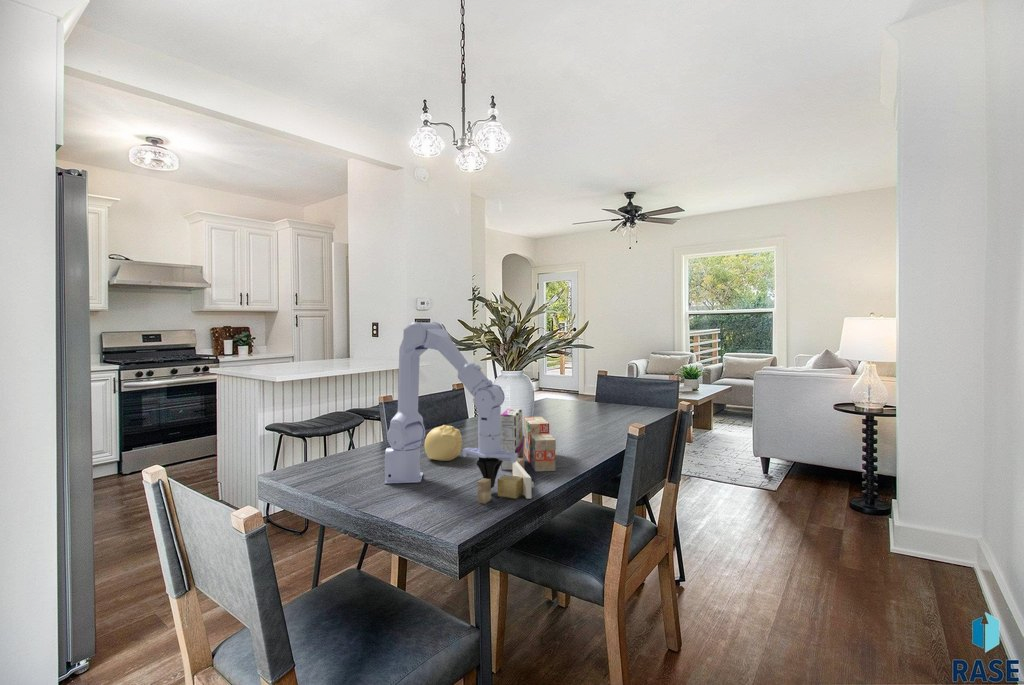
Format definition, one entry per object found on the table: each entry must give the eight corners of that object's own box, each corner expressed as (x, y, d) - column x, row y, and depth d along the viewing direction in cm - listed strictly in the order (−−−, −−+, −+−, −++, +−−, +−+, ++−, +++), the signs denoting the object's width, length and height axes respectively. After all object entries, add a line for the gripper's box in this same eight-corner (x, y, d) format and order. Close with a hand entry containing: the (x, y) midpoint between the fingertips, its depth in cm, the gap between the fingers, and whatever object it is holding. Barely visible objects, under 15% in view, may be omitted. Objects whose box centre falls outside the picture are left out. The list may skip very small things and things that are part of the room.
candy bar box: (507, 460, 153) (507, 408, 152) (523, 460, 152) (523, 408, 151) (499, 470, 142) (499, 414, 142) (516, 471, 141) (516, 414, 141)
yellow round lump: (460, 463, 149) (459, 428, 149) (421, 463, 150) (420, 428, 149) (464, 454, 161) (464, 421, 160) (428, 454, 161) (428, 421, 161)
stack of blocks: (556, 471, 141) (555, 429, 141) (534, 472, 140) (534, 429, 140) (542, 452, 162) (541, 415, 162) (523, 453, 161) (523, 416, 161)
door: (526, 498, 118) (526, 478, 117) (512, 479, 132) (512, 461, 132) (535, 497, 118) (535, 477, 118) (520, 479, 133) (520, 461, 132)
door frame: (477, 502, 116) (477, 481, 116) (518, 475, 137) (517, 457, 137) (485, 503, 115) (484, 482, 115) (524, 476, 136) (524, 458, 136)
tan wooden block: (497, 497, 120) (497, 479, 120) (504, 492, 123) (504, 474, 123) (516, 500, 118) (516, 481, 117) (522, 494, 121) (522, 477, 121)
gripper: (456, 434, 122) (457, 488, 122) (508, 439, 116) (509, 496, 116) (470, 429, 128) (471, 480, 129) (520, 433, 122) (521, 487, 123)
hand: (490, 487), depth 123 cm, fingers closed
